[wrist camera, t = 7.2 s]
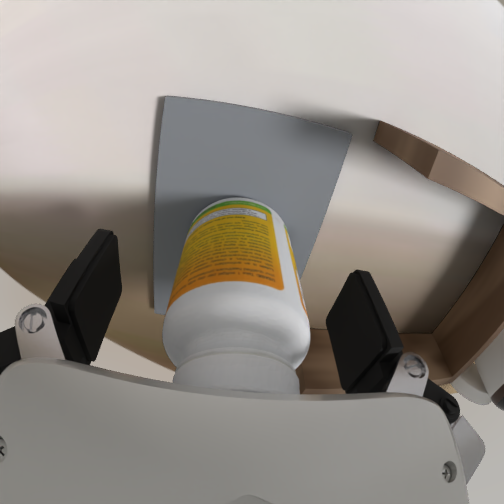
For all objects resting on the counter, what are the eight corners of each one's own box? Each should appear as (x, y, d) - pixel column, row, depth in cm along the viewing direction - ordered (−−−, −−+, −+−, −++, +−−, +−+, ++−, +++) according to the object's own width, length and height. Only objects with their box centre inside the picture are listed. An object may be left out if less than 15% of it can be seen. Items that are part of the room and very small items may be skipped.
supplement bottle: (168, 238, 13) (116, 405, 6) (240, 173, 12) (235, 348, 5) (236, 292, 15) (235, 448, 8) (307, 242, 14) (354, 410, 7)
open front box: (522, 199, 12) (563, 235, 9) (433, 341, 20) (451, 382, 16) (379, 120, 10) (439, 150, 7) (291, 336, 18) (299, 396, 15)
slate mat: (349, 132, 11) (352, 134, 11) (278, 325, 18) (278, 330, 17) (168, 95, 10) (165, 96, 9) (156, 308, 17) (154, 313, 16)
